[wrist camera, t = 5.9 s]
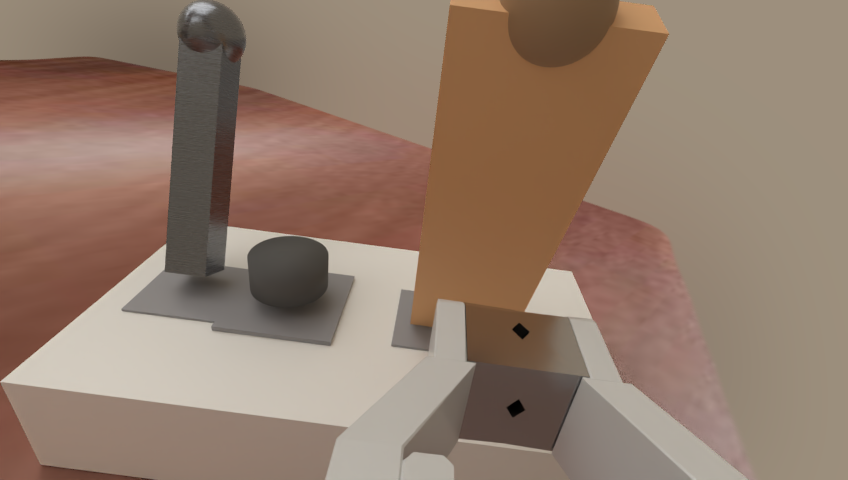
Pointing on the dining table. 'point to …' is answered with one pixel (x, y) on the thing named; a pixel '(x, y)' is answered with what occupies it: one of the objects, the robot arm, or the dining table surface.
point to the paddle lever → (522, 138)
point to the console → (244, 372)
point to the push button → (288, 271)
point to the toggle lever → (203, 137)
